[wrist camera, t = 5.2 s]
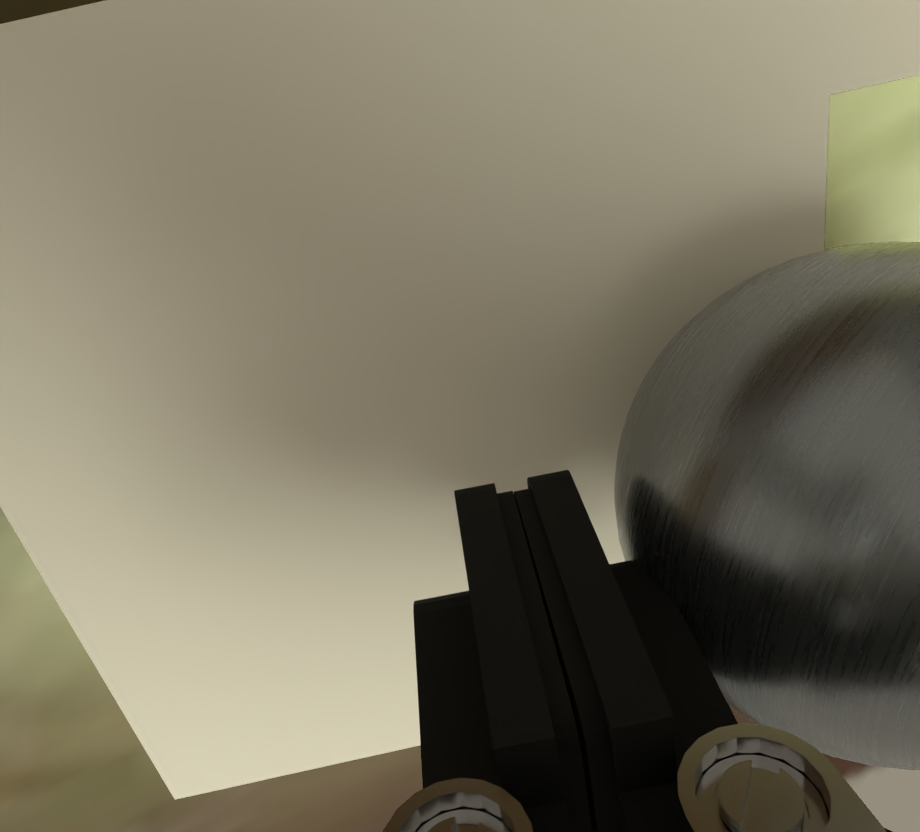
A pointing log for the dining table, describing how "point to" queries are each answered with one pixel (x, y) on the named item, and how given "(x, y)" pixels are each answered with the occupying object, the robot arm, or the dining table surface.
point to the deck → (361, 310)
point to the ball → (793, 496)
